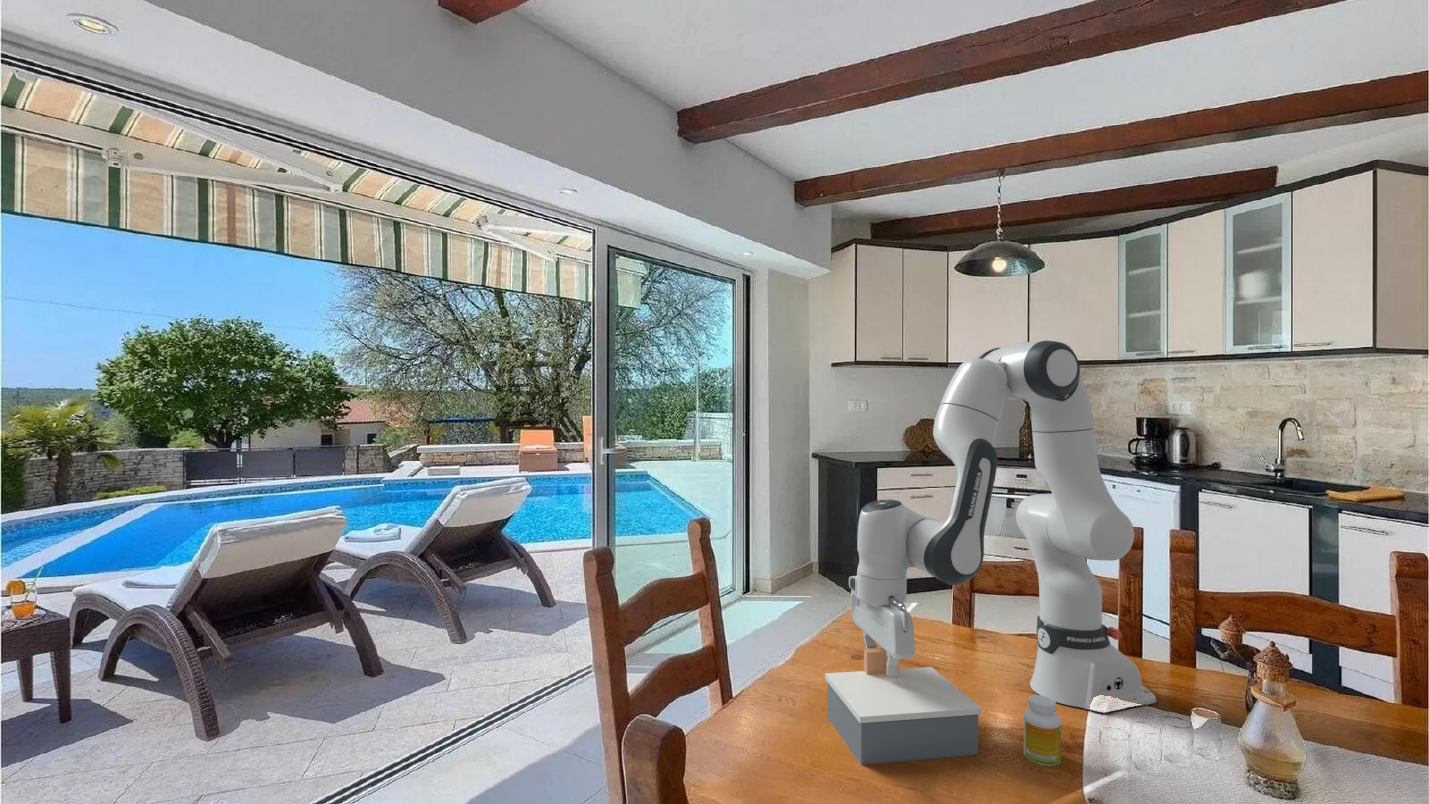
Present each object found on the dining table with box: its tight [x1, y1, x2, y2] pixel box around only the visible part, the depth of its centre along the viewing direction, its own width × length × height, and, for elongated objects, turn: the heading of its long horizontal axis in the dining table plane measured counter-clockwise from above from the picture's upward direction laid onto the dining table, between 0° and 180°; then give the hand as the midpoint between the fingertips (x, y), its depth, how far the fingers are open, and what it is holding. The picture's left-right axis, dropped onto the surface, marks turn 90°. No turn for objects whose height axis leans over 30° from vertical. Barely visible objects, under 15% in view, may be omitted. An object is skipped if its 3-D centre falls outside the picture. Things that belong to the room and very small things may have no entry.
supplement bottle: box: [1023, 694, 1062, 767], centre depth 106 cm, size 5×5×10 cm
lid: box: [824, 647, 983, 723], centre depth 113 cm, size 21×17×5 cm
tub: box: [827, 682, 979, 766], centre depth 113 cm, size 20×16×7 cm
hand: (880, 664), depth 120 cm, fingers open, 7 cm apart
